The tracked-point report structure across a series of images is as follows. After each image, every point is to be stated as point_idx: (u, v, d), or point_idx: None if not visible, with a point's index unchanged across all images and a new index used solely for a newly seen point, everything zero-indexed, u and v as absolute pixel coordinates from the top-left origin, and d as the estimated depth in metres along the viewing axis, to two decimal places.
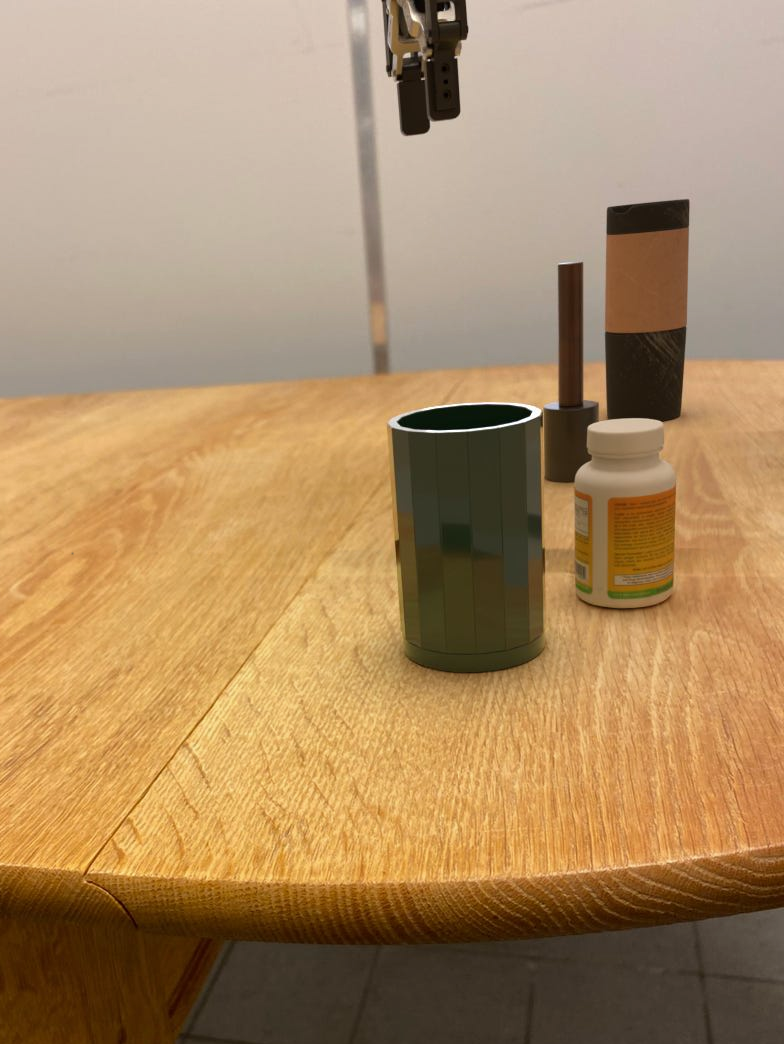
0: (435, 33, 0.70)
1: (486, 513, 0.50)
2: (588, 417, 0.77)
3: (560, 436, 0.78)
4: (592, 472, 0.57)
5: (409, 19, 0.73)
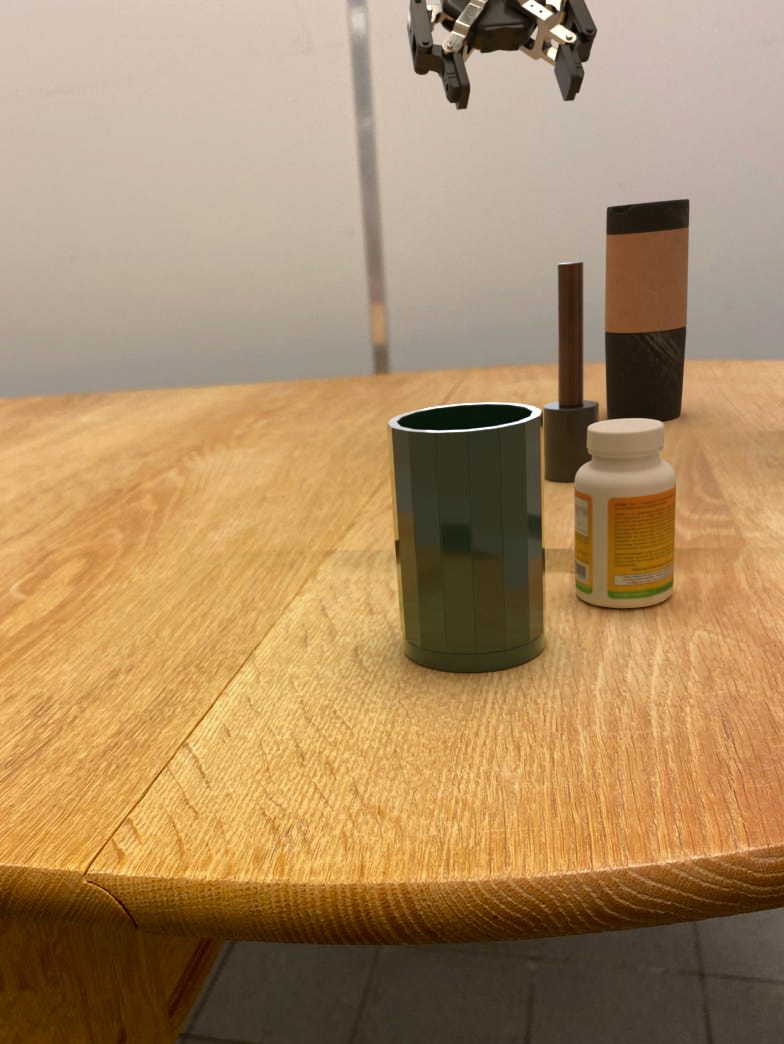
0: (415, 68, 0.84)
1: (486, 513, 0.50)
2: (588, 417, 0.77)
3: (560, 436, 0.78)
4: (592, 472, 0.57)
5: None
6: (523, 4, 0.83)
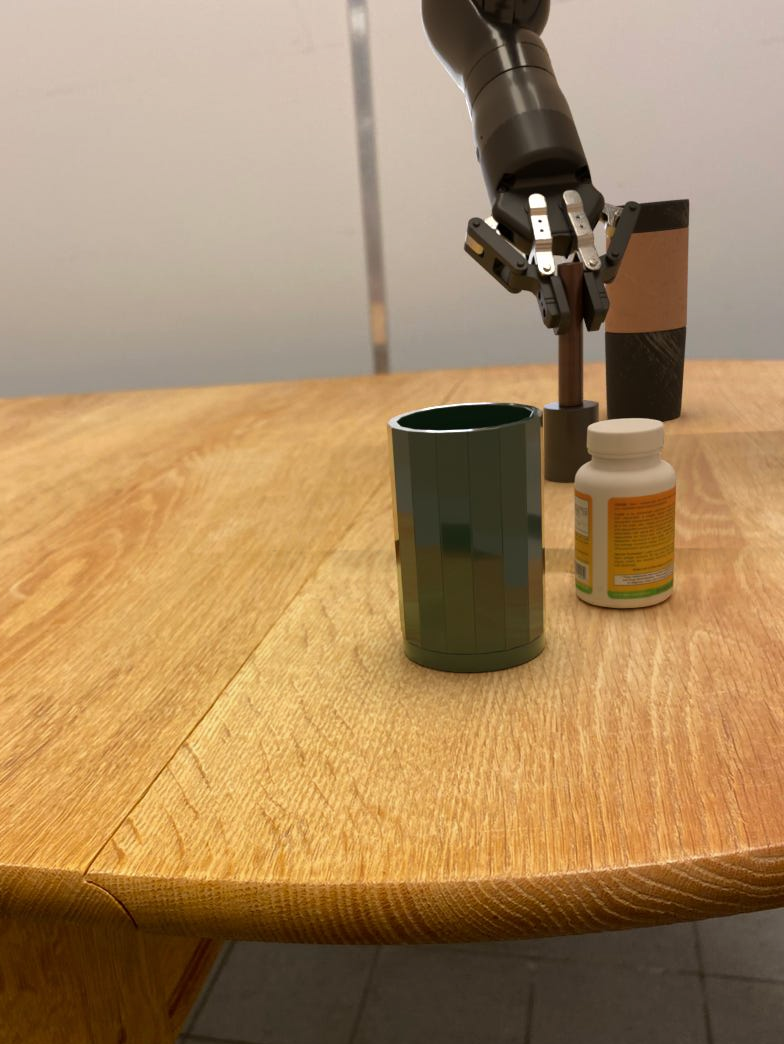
0: (507, 287, 0.77)
1: (486, 513, 0.50)
2: (588, 417, 0.77)
3: (560, 436, 0.78)
4: (592, 472, 0.57)
5: None
6: (570, 211, 0.77)
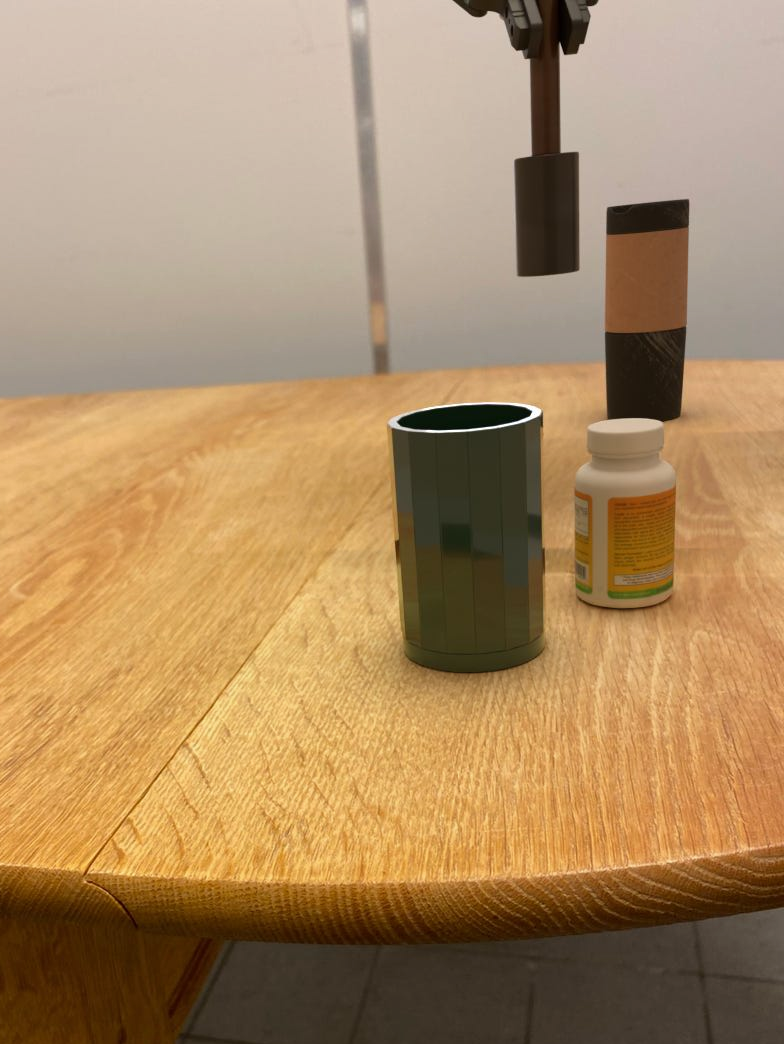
0: (469, 9, 0.65)
1: (486, 513, 0.50)
2: (566, 164, 0.65)
3: (532, 190, 0.65)
4: (592, 472, 0.57)
5: None
6: None
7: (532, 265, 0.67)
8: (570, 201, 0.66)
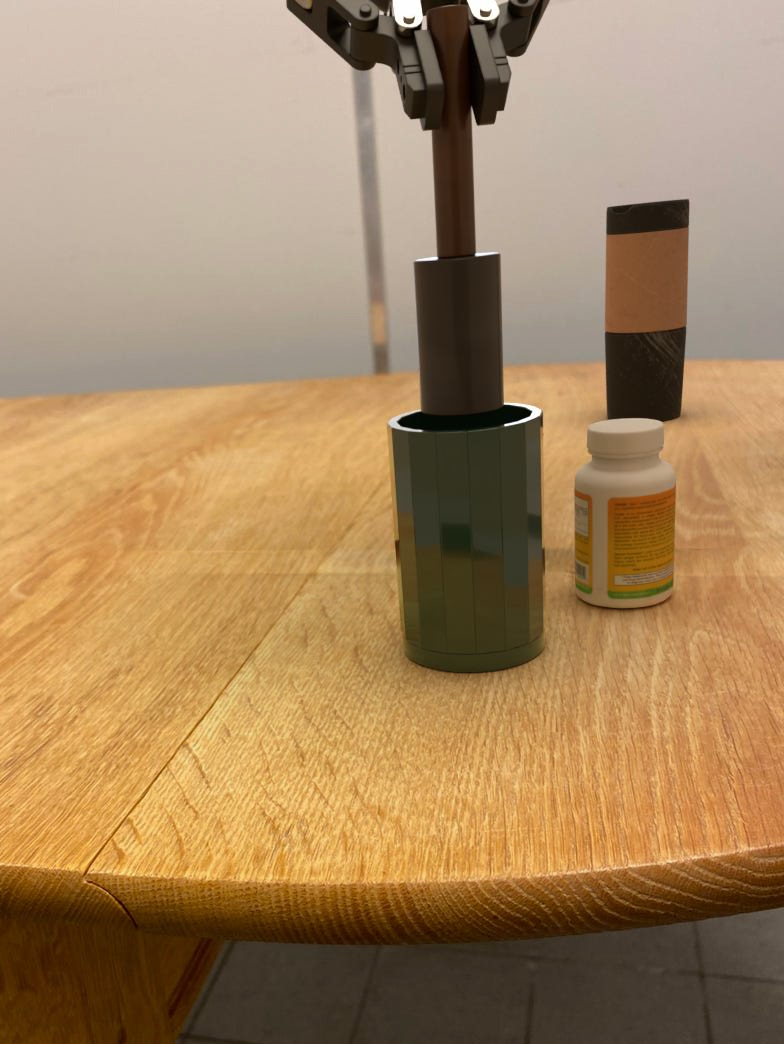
0: (350, 60, 0.48)
1: (486, 513, 0.50)
2: (481, 272, 0.48)
3: (436, 304, 0.48)
4: (592, 472, 0.57)
5: None
6: None
7: (438, 402, 0.50)
8: (488, 320, 0.48)
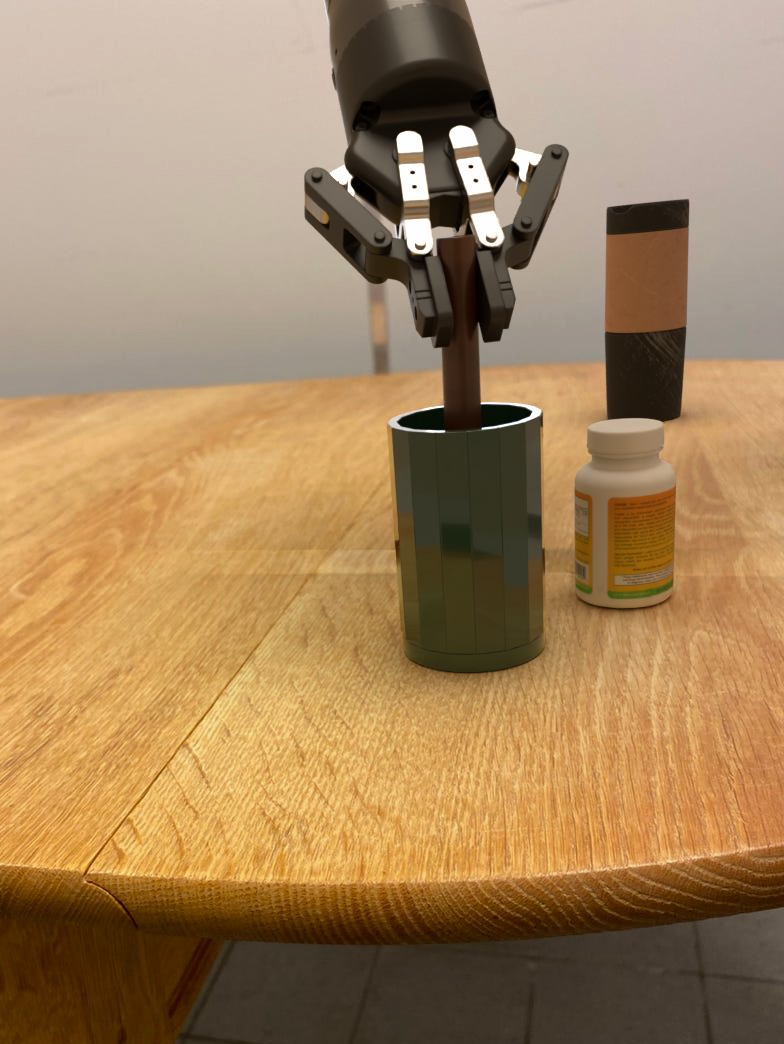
0: (365, 274, 0.51)
1: (486, 513, 0.50)
2: None
3: None
4: (592, 472, 0.57)
5: None
6: (460, 158, 0.50)
7: None
8: None
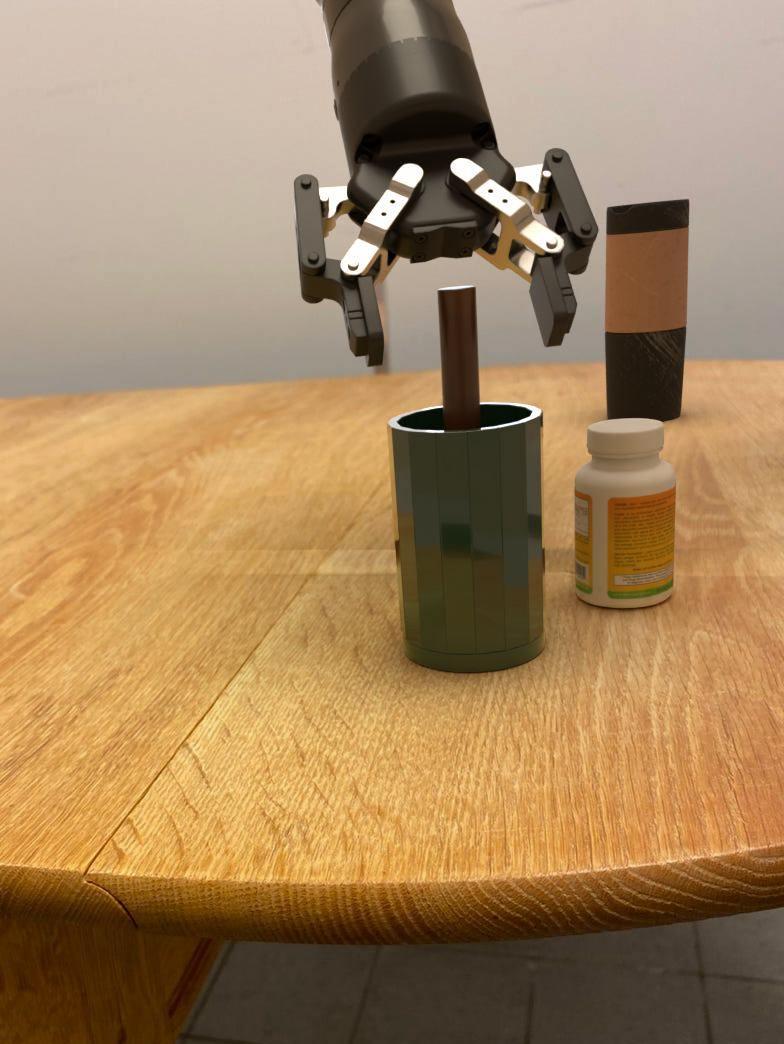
0: (302, 294, 0.52)
1: (486, 513, 0.50)
2: None
3: None
4: (592, 472, 0.57)
5: None
6: (476, 188, 0.51)
7: None
8: None
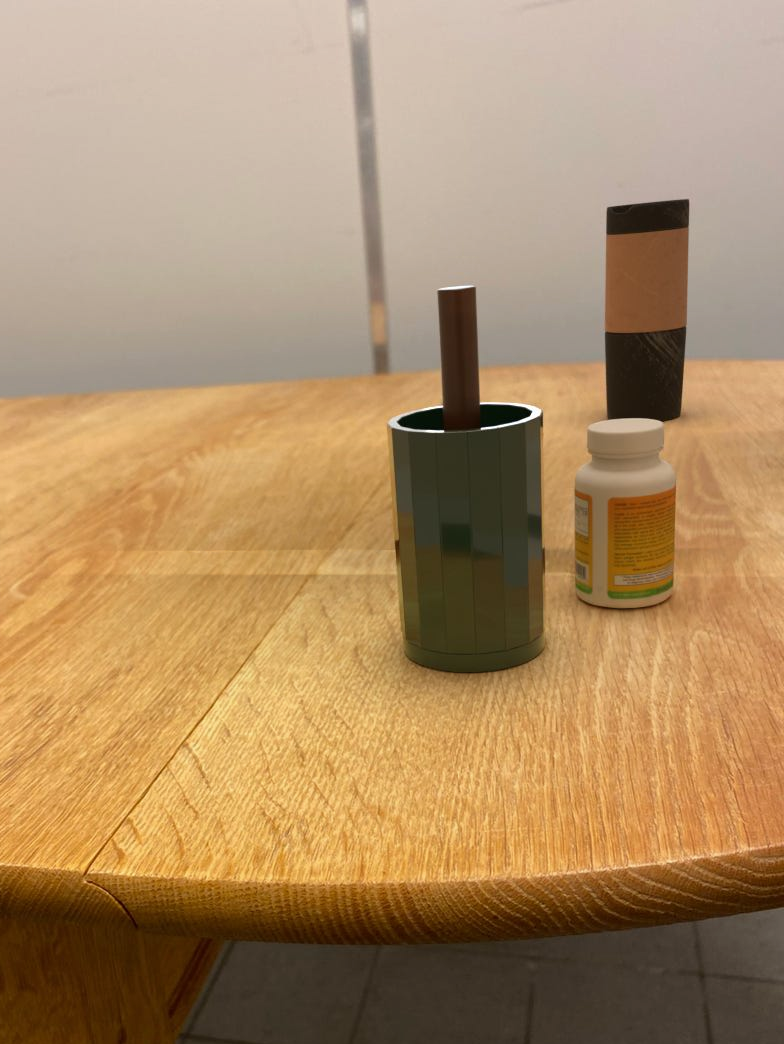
0: None
1: (486, 513, 0.50)
2: None
3: None
4: (592, 472, 0.57)
5: None
6: None
7: None
8: None
